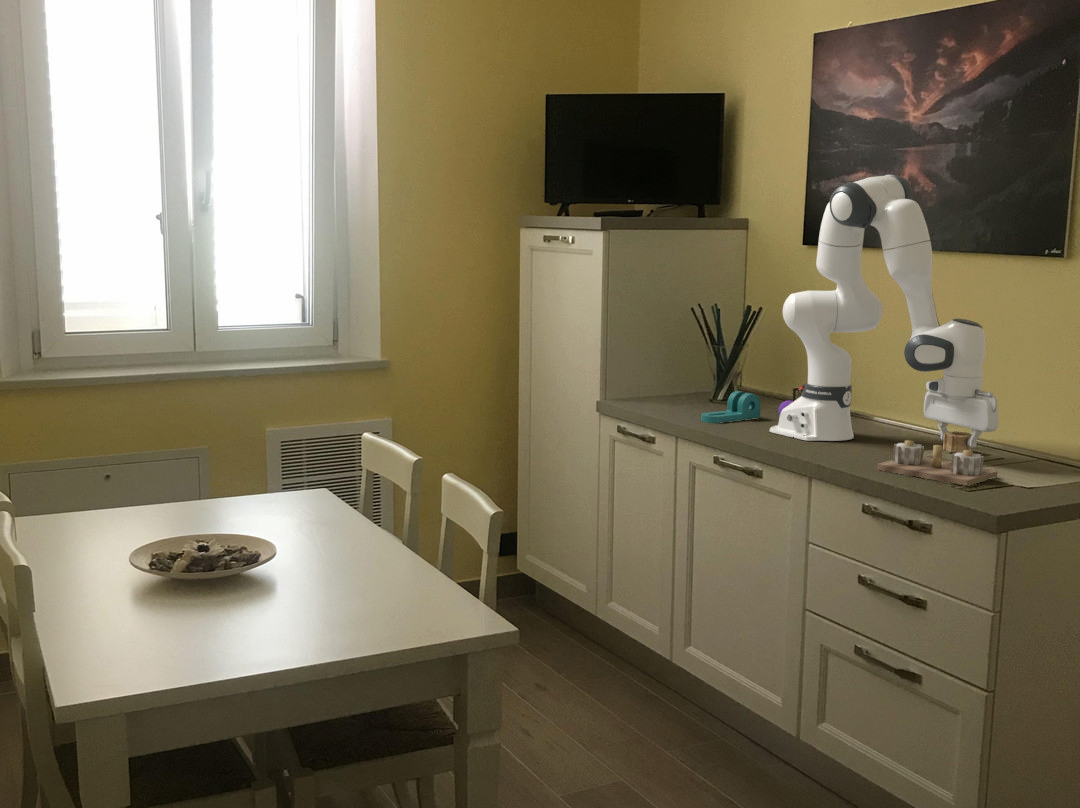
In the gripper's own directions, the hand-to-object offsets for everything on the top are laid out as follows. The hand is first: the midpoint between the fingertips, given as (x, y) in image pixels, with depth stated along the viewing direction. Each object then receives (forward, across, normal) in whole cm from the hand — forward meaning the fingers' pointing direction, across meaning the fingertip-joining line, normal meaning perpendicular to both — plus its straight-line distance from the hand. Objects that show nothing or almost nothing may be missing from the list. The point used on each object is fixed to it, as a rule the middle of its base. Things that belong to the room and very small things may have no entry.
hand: (958, 443), depth 270 cm
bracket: (+6, +68, +18) cm, 71 cm away
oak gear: (+2, 0, 0) cm, 2 cm away
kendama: (+6, +61, -5) cm, 62 cm away
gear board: (+4, -9, +16) cm, 19 cm away
